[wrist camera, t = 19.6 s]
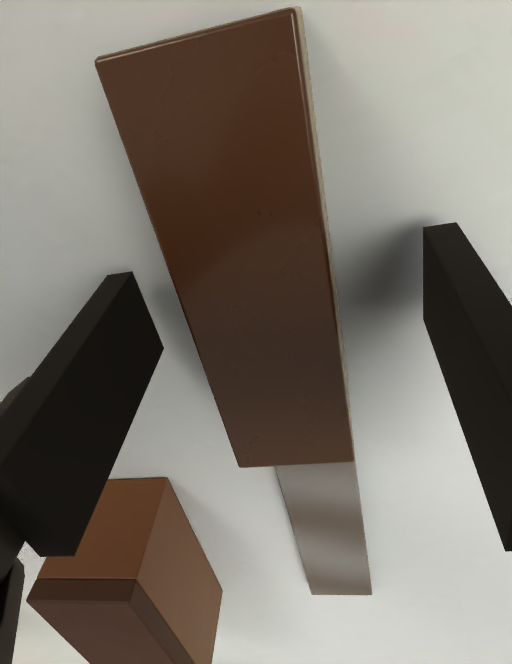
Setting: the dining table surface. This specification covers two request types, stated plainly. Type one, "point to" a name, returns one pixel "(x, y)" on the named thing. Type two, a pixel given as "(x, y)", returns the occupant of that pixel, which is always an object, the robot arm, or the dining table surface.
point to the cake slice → (133, 582)
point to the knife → (252, 259)
